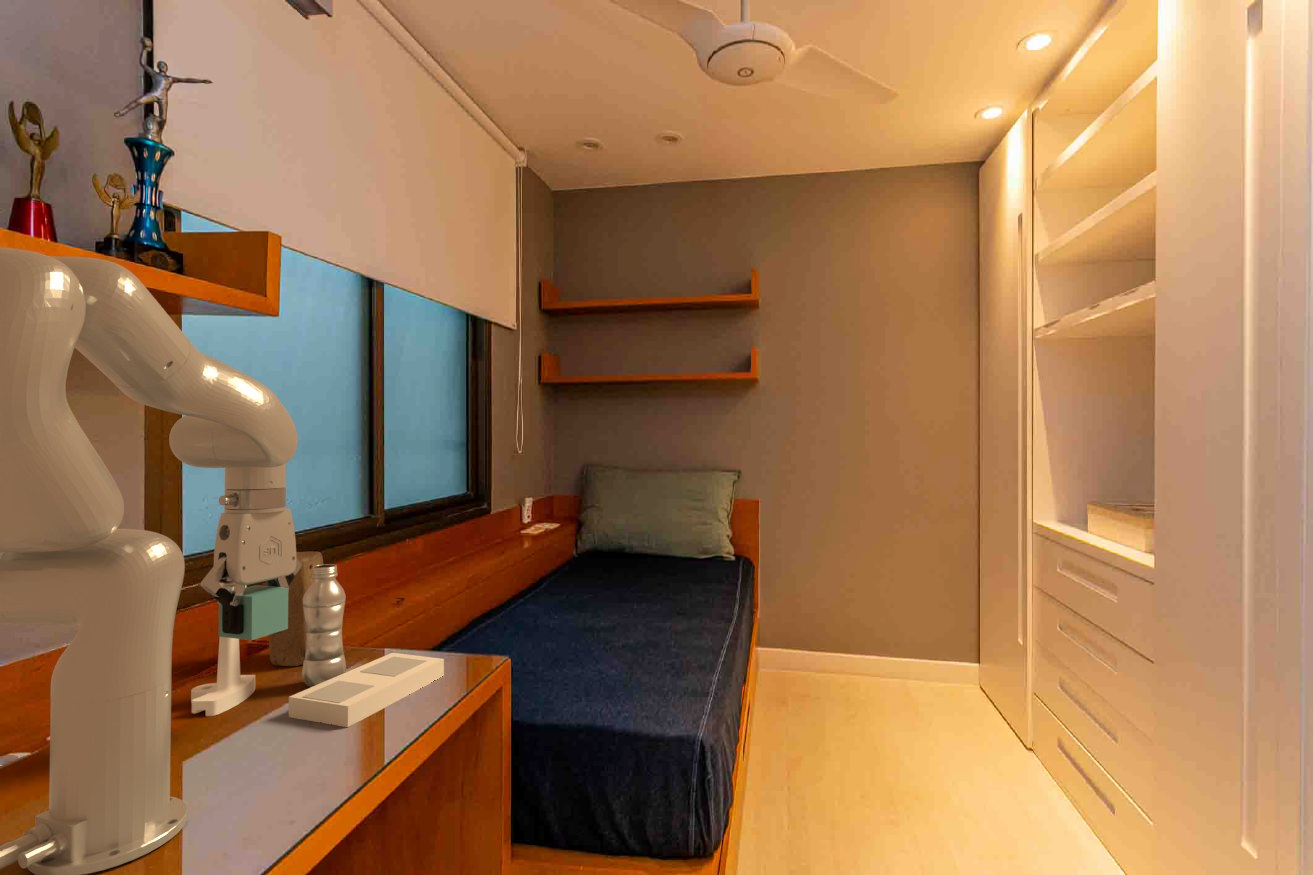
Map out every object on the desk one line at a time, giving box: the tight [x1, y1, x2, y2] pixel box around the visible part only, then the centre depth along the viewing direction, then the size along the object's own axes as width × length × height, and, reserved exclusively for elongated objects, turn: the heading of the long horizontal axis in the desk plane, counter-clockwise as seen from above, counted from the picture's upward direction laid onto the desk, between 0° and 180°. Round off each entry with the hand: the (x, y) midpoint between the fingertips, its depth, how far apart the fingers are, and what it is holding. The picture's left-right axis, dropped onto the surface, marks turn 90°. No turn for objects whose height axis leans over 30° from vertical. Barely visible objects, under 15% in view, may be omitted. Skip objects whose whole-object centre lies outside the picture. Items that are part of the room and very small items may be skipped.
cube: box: [218, 584, 288, 641], centre depth 94 cm, size 6×6×6 cm
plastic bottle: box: [301, 563, 347, 688], centre depth 110 cm, size 6×7×20 cm
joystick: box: [190, 583, 256, 717], centre depth 103 cm, size 11×8×20 cm
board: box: [288, 652, 445, 728], centre depth 106 cm, size 22×11×3 cm, turn 162°
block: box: [268, 550, 324, 667], centre depth 123 cm, size 11×8×20 cm
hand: (254, 625), depth 94 cm, fingers closed on cube, 6 cm apart
